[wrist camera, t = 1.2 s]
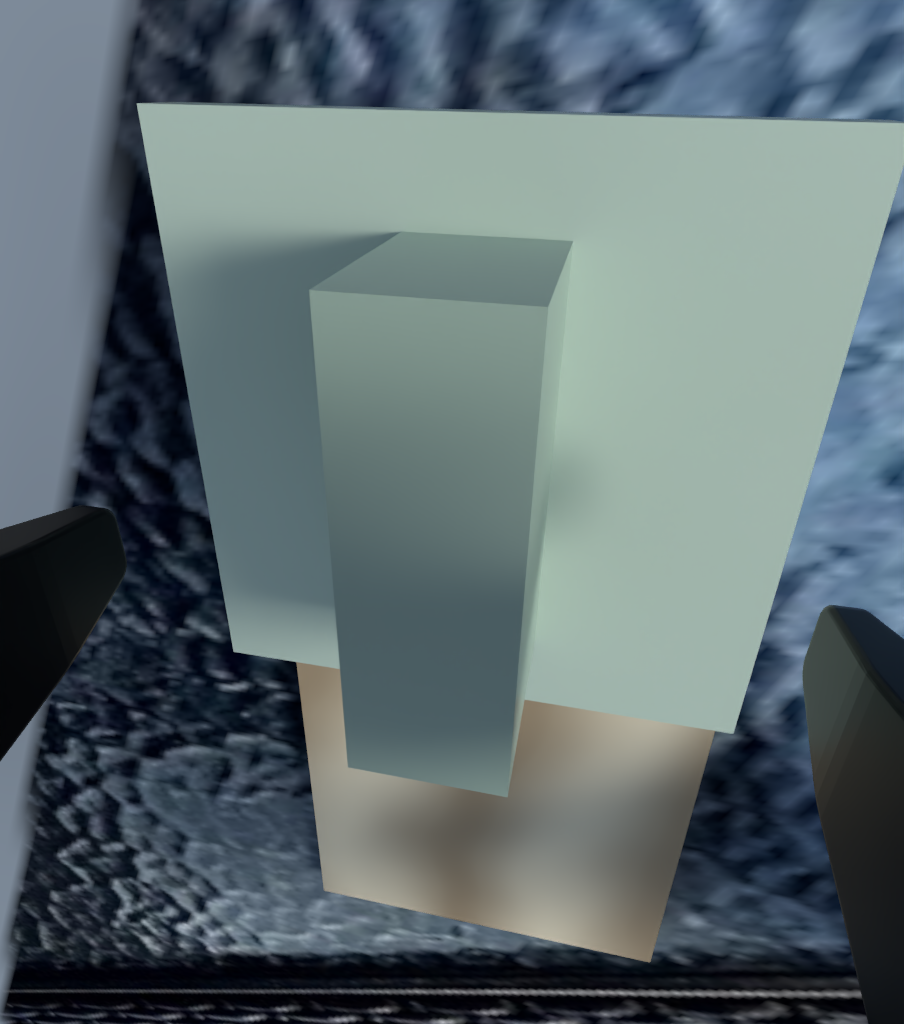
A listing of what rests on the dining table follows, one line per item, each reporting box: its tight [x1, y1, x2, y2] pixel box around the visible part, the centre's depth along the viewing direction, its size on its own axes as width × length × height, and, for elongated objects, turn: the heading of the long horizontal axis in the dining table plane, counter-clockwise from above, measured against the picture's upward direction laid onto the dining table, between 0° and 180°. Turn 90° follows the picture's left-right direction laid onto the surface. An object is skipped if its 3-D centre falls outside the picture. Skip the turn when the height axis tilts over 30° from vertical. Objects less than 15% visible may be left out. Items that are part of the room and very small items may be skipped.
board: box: [296, 662, 715, 962], centre depth 24 cm, size 12×12×1 cm
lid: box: [137, 102, 904, 797], centre depth 11 cm, size 10×10×5 cm
